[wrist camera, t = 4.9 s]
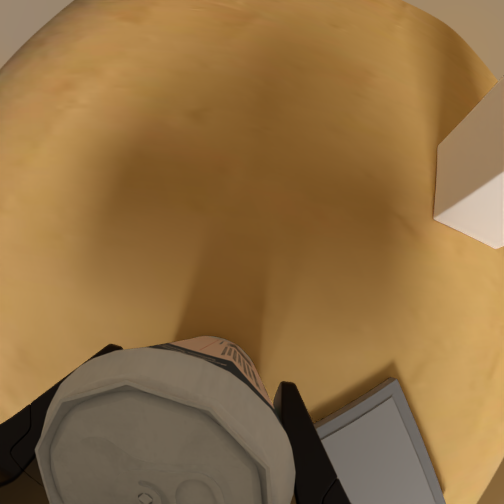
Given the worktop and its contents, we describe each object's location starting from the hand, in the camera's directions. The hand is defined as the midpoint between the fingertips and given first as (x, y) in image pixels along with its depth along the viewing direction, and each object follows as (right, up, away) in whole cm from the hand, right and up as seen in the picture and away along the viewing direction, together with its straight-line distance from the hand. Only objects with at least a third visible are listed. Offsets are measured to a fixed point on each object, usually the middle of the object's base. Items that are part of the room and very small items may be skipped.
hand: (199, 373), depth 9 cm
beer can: (0, -3, +6) cm, 7 cm away
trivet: (+7, -10, +5) cm, 13 cm away
